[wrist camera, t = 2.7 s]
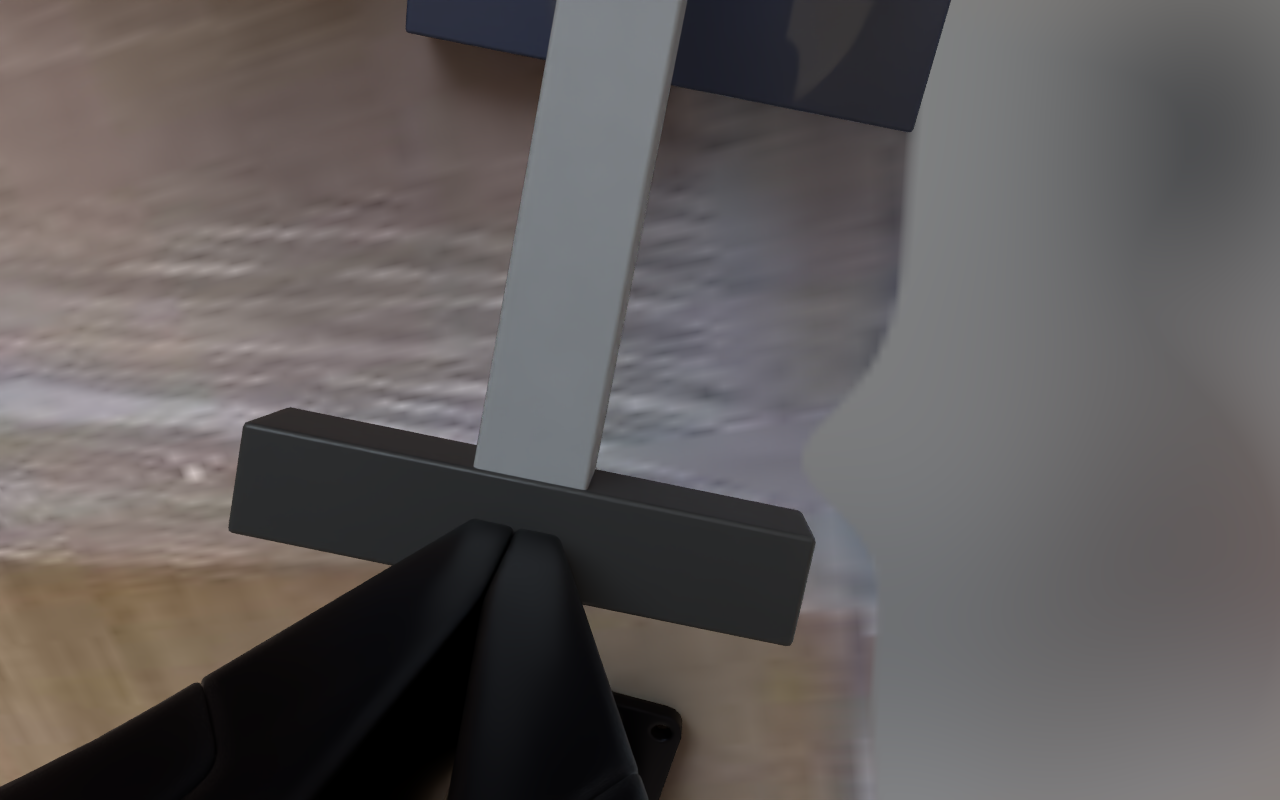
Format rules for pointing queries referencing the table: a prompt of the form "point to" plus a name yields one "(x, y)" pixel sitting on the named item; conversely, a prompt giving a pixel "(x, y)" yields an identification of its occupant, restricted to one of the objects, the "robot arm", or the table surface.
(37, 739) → the table surface
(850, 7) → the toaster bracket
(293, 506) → the lever
